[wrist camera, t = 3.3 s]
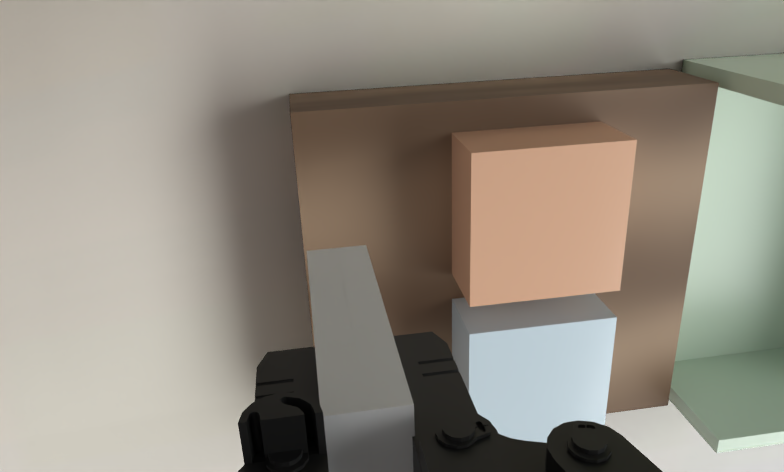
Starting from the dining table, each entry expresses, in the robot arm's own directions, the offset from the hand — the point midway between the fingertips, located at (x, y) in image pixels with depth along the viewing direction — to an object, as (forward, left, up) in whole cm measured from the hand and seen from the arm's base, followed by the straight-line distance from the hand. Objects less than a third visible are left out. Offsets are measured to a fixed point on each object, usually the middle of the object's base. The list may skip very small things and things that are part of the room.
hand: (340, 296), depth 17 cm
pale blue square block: (+6, +7, -5) cm, 10 cm away
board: (+3, +6, -8) cm, 10 cm away
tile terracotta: (0, +7, -5) cm, 8 cm away
